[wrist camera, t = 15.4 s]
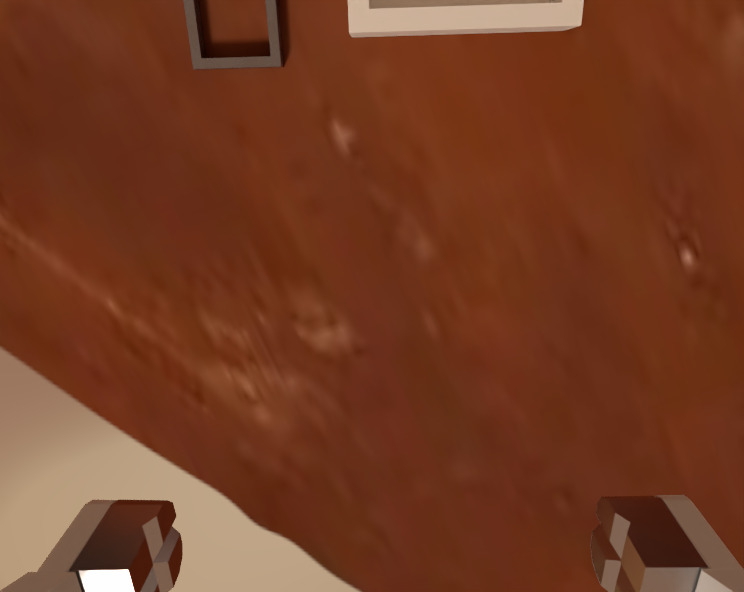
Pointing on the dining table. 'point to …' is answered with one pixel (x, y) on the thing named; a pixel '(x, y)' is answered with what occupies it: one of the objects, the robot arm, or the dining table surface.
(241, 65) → the wheeled grey cart
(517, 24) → the tray
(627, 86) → the dining table surface
